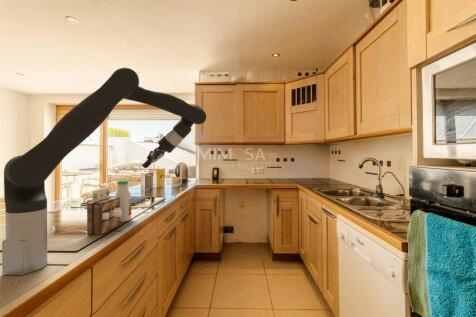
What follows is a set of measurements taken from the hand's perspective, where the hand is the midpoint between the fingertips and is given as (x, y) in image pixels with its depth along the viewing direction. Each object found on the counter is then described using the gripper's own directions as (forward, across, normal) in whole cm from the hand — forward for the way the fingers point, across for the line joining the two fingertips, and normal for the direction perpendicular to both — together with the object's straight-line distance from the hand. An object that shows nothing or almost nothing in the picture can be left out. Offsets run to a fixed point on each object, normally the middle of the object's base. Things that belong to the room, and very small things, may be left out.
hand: (144, 166), depth 110 cm
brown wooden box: (+32, +2, +8) cm, 33 cm away
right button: (+27, -2, +5) cm, 27 cm away
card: (+23, +2, -2) cm, 24 cm away
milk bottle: (+31, -12, +9) cm, 34 cm away
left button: (+27, +7, +5) cm, 28 cm away
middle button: (+24, +3, +7) cm, 26 cm away
